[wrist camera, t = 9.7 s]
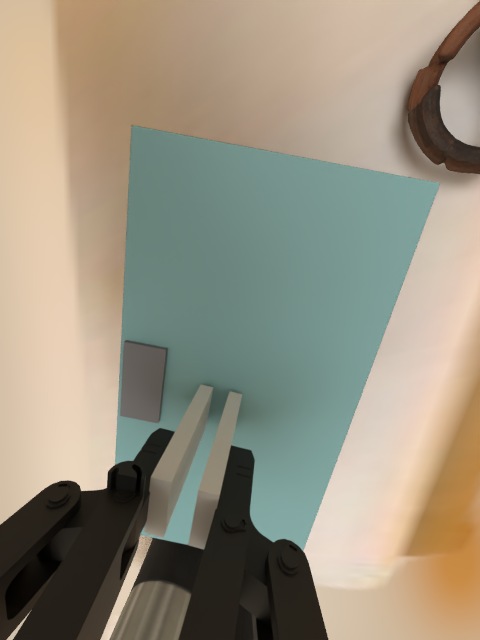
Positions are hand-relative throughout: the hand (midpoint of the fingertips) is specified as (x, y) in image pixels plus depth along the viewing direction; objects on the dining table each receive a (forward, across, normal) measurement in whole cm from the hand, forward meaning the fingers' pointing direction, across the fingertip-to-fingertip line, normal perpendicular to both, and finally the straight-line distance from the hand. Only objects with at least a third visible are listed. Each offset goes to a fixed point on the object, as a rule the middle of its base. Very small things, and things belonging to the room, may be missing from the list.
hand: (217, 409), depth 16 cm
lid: (+2, +1, +1) cm, 2 cm away
